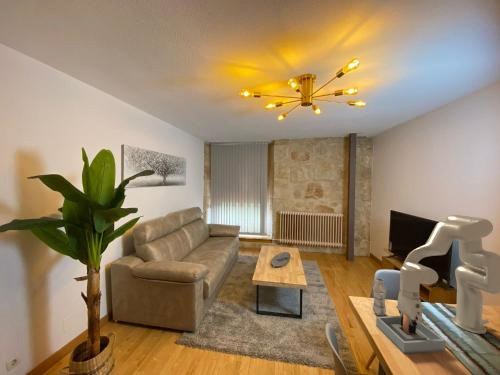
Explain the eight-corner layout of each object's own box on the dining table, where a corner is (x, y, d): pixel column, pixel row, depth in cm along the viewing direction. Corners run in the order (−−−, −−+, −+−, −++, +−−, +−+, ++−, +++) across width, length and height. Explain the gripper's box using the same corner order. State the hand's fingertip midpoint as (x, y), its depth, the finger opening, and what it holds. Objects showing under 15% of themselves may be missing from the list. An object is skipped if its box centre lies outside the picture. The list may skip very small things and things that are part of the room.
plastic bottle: (388, 318, 118) (389, 283, 117) (374, 316, 119) (375, 281, 119) (383, 311, 124) (384, 277, 124) (370, 309, 126) (371, 276, 125)
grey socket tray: (411, 324, 113) (411, 315, 113) (445, 351, 95) (445, 340, 95) (376, 326, 111) (376, 316, 111) (403, 353, 93) (404, 342, 93)
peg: (408, 330, 105) (408, 310, 105) (415, 336, 101) (415, 315, 101) (400, 330, 105) (401, 311, 104) (407, 336, 101) (408, 316, 100)
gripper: (432, 301, 94) (431, 341, 95) (402, 283, 111) (401, 318, 111) (417, 302, 94) (415, 342, 94) (389, 284, 110) (388, 318, 111)
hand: (408, 328), depth 103 cm, fingers closed on peg, 4 cm apart
